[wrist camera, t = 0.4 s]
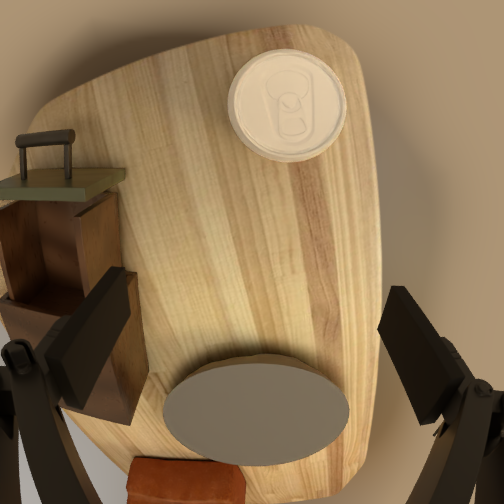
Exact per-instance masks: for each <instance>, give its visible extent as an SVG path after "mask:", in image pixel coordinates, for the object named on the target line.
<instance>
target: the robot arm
mask: <svg viewBox="0 0 504 504" xmlns="http://www.w3.org/2000/svg"><path fill="white" fill-rule="evenodd" d="M130 315H131V309H130V303H129V296H128V288H127V281H126V272H125V267H116V266H111V267H110V268H109V269H108V270H107V272H106V273H105V274H104V275H103V276H102V278H101V279H100V280H99V281H98V283H97V284H96V285H95V286H94V288H93V289H92V290H91V291H90V293H89V294H88V295H87V296H86V298H85V299H84V300H83V301H82V303H81V304H80V305H79V307H78V308H77V309H76V311H75V312H74V313H73V315H72V316H70V315H64V316H62V317H61V318H59V319H58V320H56V321H55V323H54V324H53V325H52V326H51V328H50V330H48V332H47V333H46V336H44V337H43V338H42V340H41V341H40V342H39V344H38V345H37V346H36V348H35V349H34V350H33V348H32V346H31V344H30V342H29V341H27V340H26V339H14V340H12V341H10V342H8V343H7V344H6V345H4V347H3V349H2V350H1V356H2V358H3V361H4V362H5V364H6V366H0V504H22V503H21V493H20V479H19V457H18V456H19V454H18V453H19V452H18V439H19V438H18V437H19V431H20V435H21V439H22V443H23V447H24V451H25V454H26V458H27V461H28V465H29V468H30V471H31V474H32V477H33V480H34V483H35V486H36V489H37V491H38V494H39V497H40V500H41V502H42V504H103V503H102V502H101V500H100V498H99V497H98V494H97V492H96V490H95V488H94V487H93V484H92V482H91V481H90V479H89V477H88V474H87V473H86V470H85V468H84V466H83V464H82V461H81V459H80V457H79V455H78V452H77V450H76V447H75V445H74V443H73V440H72V438H71V435H70V433H69V430H68V427H67V425H66V422H65V419H64V417H63V414H62V411H61V408H60V406H59V404H58V403H59V401H60V399H61V397H62V398H63V400H64V402H65V404H66V406H69V407H72V408H76V409H79V410H83V409H84V407H85V405H86V403H87V400H88V398H89V396H90V394H91V392H92V390H93V388H94V386H95V384H96V381H97V379H98V377H99V375H100V373H101V371H102V369H103V367H104V365H105V363H106V361H107V359H108V357H109V355H110V353H111V351H112V349H113V347H114V346H115V344H116V342H117V340H118V338H119V336H120V334H121V332H122V330H123V328H124V326H125V325H126V323H127V321H128V319H129V317H130ZM377 330H378V332H379V334H380V336H381V338H382V340H383V343H384V345H385V347H386V349H387V351H388V353H389V355H390V357H391V360H392V362H393V364H394V366H395V368H396V370H397V373H398V375H399V377H400V379H401V382H402V384H403V386H404V388H405V391H406V393H407V395H408V397H409V400H410V402H411V405H412V407H413V409H414V412H415V414H416V416H417V419H418V421H419V424H420V426H421V425H426V424H431V423H435V422H436V420H437V419H438V418H439V416H440V415H441V413H442V415H443V418H444V421H443V422H442V424H441V425H440V426H439V428H438V429H437V430H436V431H435V433H434V434H433V436H435V435H436V434H437V433H438V434H437V436H436V439H435V441H434V444H433V446H432V449H431V451H430V454H429V456H428V458H427V461H426V463H425V465H424V468H423V470H422V472H421V474H420V476H419V478H418V480H417V482H416V484H415V486H414V488H413V491H412V492H411V495H410V496H409V498H408V500H407V502H406V504H469V502H470V499H471V496H472V493H473V490H474V487H475V484H476V492H475V503H474V504H504V391H496V390H493V388H492V386H491V385H490V384H489V383H488V382H486V381H484V380H481V379H475V377H474V376H473V374H472V373H471V371H470V370H469V368H468V366H467V365H466V363H465V362H464V360H463V359H461V356H460V355H459V353H457V350H456V348H455V347H454V346H453V344H452V343H451V342H450V341H449V340H447V339H446V338H445V337H440V336H439V334H438V333H437V331H436V330H435V329H434V327H433V326H432V324H431V323H430V321H429V320H428V318H427V317H426V316H425V314H424V313H423V311H422V310H421V308H420V307H419V306H418V304H417V303H416V302H415V300H414V299H413V297H412V296H411V295H410V293H409V292H408V291H407V289H406V288H405V287H404V286H391V289H390V292H389V296H388V298H387V302H386V305H385V308H384V311H383V314H382V317H381V320H380V323H379V326H378V328H377Z"/></svg>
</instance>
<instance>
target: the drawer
mask: <svg viewBox="0 0 504 504" xmlns="http://www.w3.org/2000/svg"><path fill="white" fill-rule="evenodd" d="M74 141H75V131H74V130H73V129H67V130H56V131H46V132H37V133H29V134H21V135H18V136H17V137H16V141H15V144H16V147H18V148H20V149H19V156H20V173H19V174H17V175H14V176H12V177H9V178H6V179H4V180H2V181H0V200H15V201H13V202H11V203H9V204H7V205H5V206H3V207H1V208H0V262H1V267H2V271H3V275H4V278H5V282H6V286H7V289H8V293H9V296H10V300H11V301H15V302H19V303H23V304H27V305H32V306H36V307H40V308H45V309H50V310H54V311H59V312H64V313H69V314H73V313H74V312H75V311H76V309H77V308H78V307H79V305H80V304H81V303H82V301H83V300H84V299H85V298H86V296H87V295H88V294H89V293H90V291H91V290H92V289H93V288H94V286H95V285H96V284H97V283H98V281H99V280H100V279H101V278H102V276H103V275H104V274H105V273H106V272H107V270H108V269H109V268H110V267H111V266H116V267H122V263H121V252H120V239H119V223H118V202H117V193H111V192H103V191H105V190H107V189H108V188H110V187H112V186H114V185H115V184H117V183H119V182H121V181H123V180H124V179H125V168H72V143H73V142H74ZM64 144H65V145H64ZM49 145H64V169H35V170H28V171H27V158H26V148H27V147H37V146H49Z"/></svg>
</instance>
